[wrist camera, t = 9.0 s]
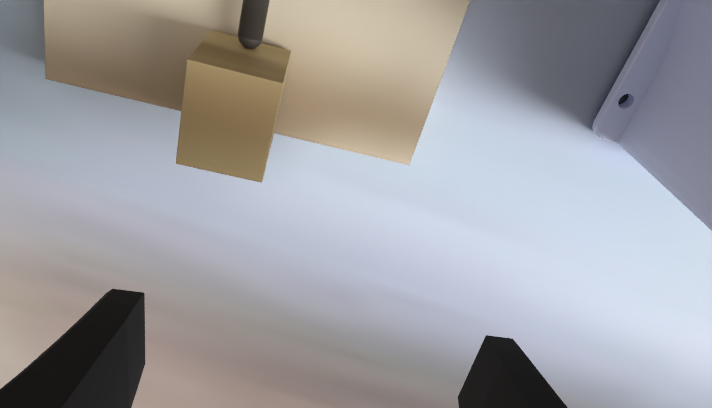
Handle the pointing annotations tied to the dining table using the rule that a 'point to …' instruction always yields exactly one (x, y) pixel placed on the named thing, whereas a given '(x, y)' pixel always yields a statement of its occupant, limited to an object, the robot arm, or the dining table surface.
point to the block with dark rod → (232, 99)
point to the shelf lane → (283, 30)
